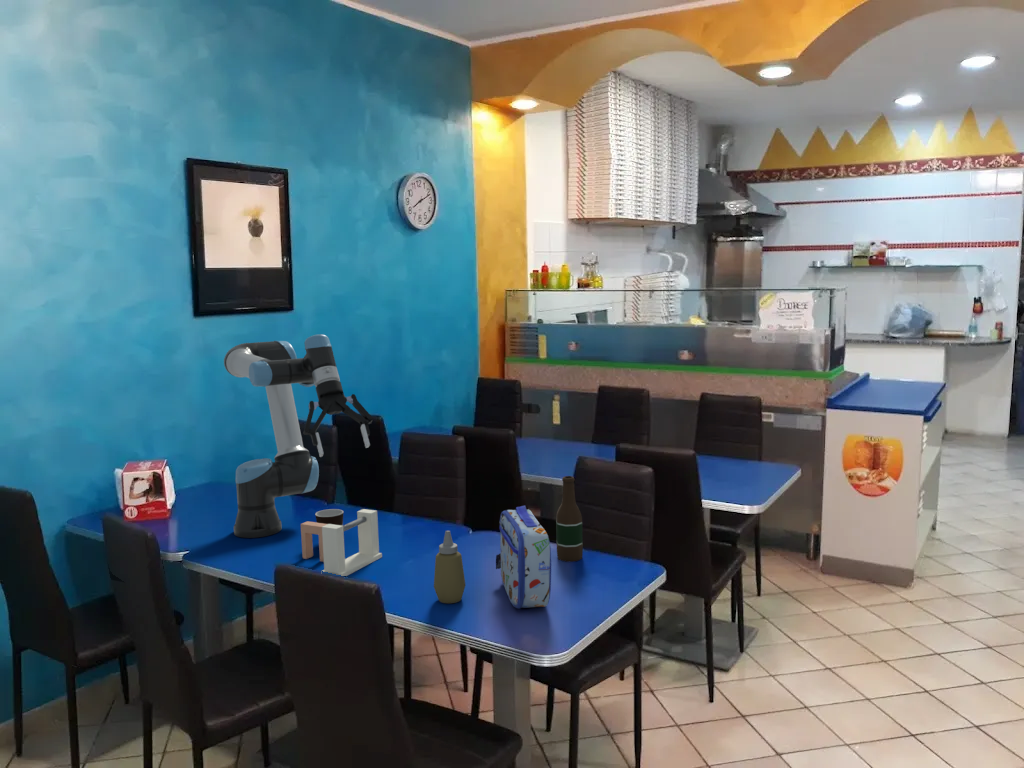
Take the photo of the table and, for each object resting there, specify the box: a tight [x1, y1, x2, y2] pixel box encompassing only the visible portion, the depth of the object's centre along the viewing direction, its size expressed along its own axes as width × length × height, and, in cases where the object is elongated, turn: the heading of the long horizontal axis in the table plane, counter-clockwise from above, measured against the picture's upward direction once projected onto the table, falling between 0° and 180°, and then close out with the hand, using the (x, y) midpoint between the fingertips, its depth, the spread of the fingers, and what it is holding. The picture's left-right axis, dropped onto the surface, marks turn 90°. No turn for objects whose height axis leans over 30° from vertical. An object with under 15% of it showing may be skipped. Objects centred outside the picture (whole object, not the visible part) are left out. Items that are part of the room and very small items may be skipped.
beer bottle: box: [555, 475, 584, 563], centre depth 239 cm, size 8×8×24 cm
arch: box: [300, 521, 327, 563], centre depth 245 cm, size 8×3×10 cm, turn 64°
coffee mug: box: [314, 508, 344, 526], centre depth 260 cm, size 12×9×10 cm
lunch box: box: [495, 505, 552, 609], centre depth 212 cm, size 28×10×22 cm, turn 12°
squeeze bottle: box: [433, 530, 466, 604], centre depth 211 cm, size 8×8×18 cm
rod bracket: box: [321, 508, 383, 577], centre depth 238 cm, size 7×19×14 cm, turn 154°
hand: (345, 450), depth 239 cm, fingers open, 13 cm apart
